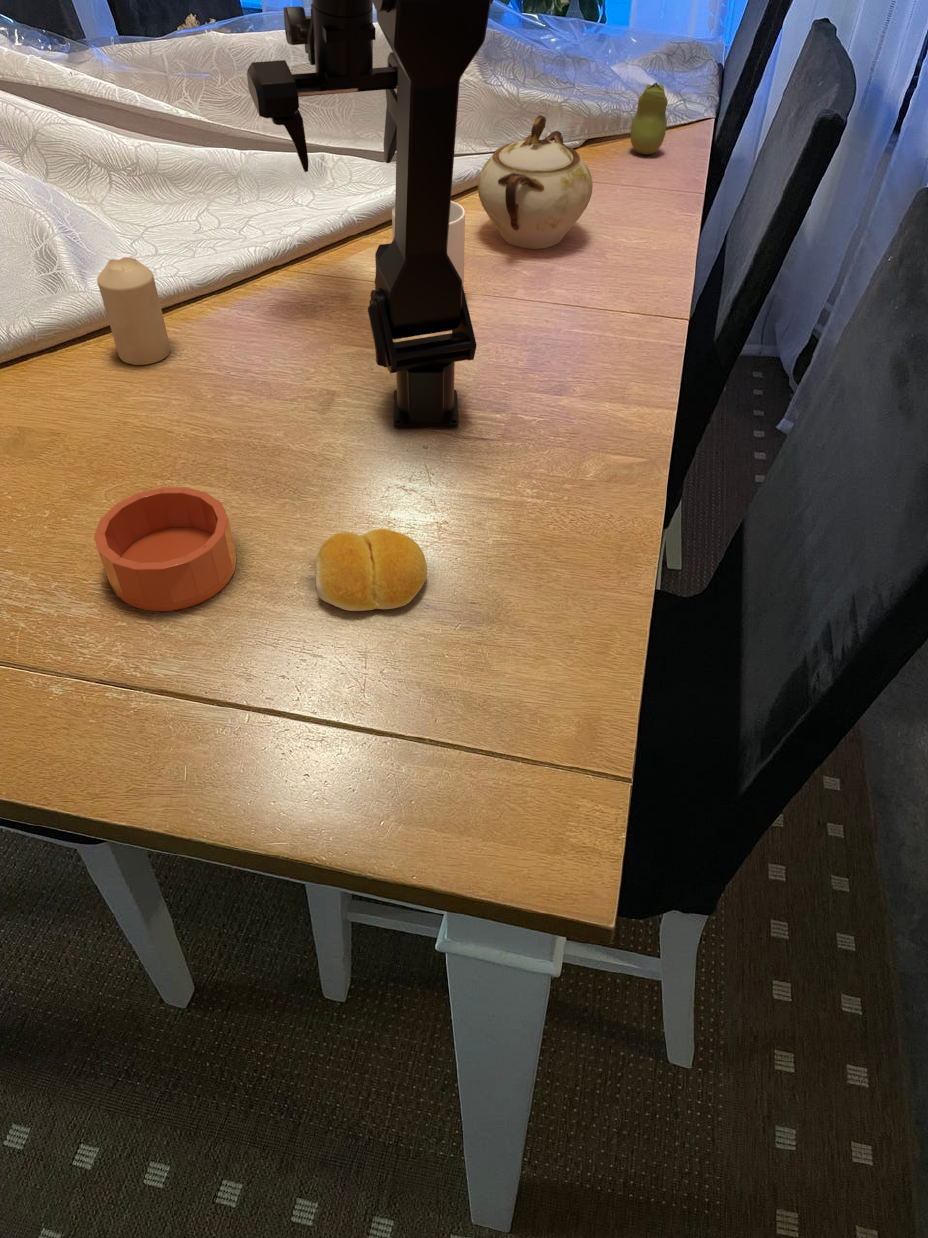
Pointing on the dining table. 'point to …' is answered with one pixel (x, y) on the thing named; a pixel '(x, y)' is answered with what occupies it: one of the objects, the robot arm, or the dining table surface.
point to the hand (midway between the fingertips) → (346, 165)
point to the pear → (649, 120)
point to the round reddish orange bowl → (166, 548)
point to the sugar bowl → (535, 189)
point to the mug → (452, 237)
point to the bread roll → (370, 570)
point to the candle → (134, 311)
